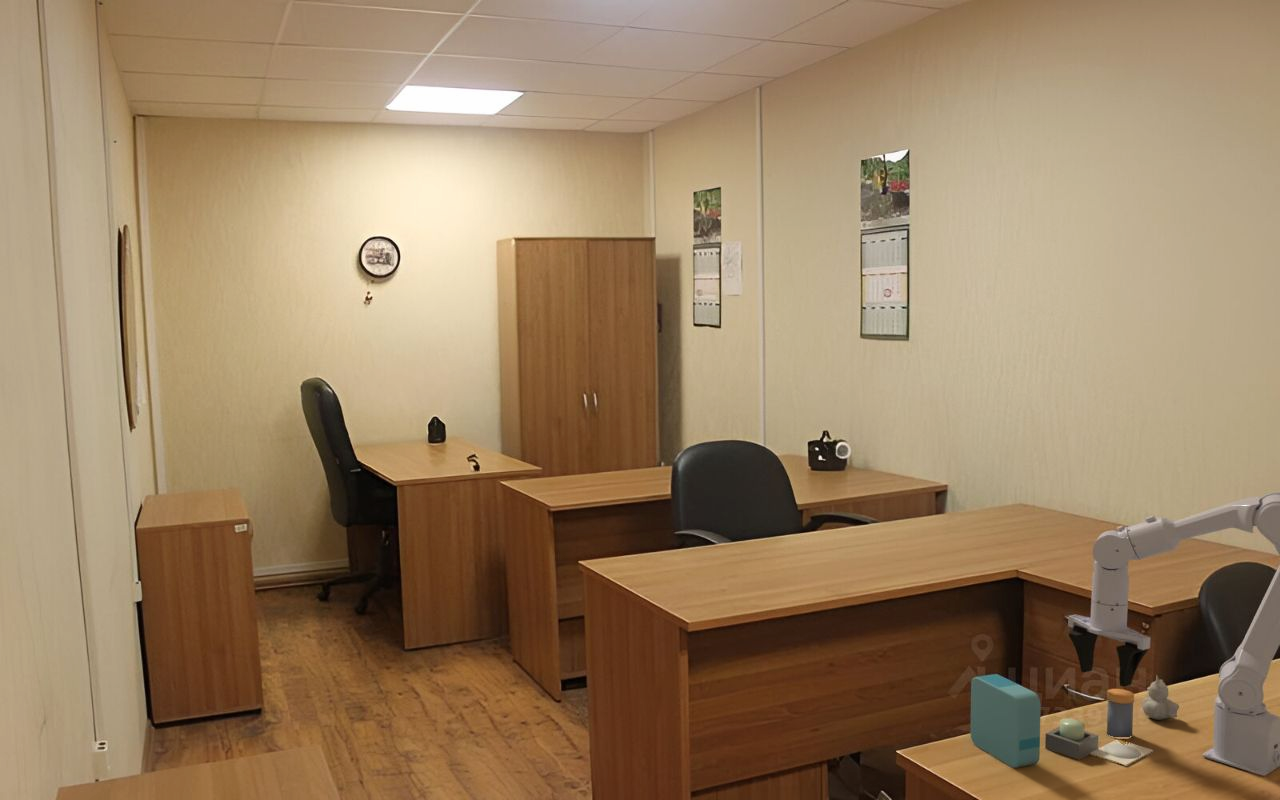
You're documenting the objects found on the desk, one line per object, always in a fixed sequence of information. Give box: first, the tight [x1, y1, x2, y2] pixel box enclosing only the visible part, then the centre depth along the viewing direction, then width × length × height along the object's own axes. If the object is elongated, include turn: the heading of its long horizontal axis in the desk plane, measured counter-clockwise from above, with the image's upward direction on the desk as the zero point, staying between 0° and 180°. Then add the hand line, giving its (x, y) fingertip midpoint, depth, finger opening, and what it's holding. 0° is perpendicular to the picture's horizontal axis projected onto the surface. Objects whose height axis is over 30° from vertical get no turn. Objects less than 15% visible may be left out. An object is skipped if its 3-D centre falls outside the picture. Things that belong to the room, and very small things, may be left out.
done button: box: [1059, 717, 1086, 742], centre depth 172 cm, size 4×4×3 cm
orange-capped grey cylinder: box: [1106, 688, 1135, 737], centre depth 177 cm, size 4×4×8 cm
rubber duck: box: [1141, 675, 1180, 721], centre depth 184 cm, size 5×7×8 cm
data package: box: [970, 673, 1042, 769], centre depth 170 cm, size 12×4×12 cm, turn 20°
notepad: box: [1089, 739, 1154, 767], centre depth 170 cm, size 6×9×1 cm, turn 127°
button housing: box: [1045, 726, 1099, 761], centre depth 172 cm, size 6×6×3 cm
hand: (1105, 678), depth 177 cm, fingers open, 7 cm apart
